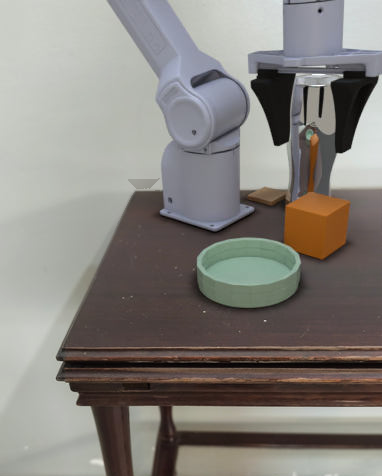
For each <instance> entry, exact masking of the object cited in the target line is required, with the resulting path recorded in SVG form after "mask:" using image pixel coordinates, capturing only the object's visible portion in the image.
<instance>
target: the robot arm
mask: <svg viewBox="0 0 382 476" xmlns="http://www.w3.org/2000/svg"><path fill="white" fill-rule="evenodd" d="M106 2H107V4H108V5H109V6H110V8H111V9H112V11H113V12H114V14H115V16H116V17H117V19H118V20H119V22H120V23H121V24H122V26H123V27H124V29H125V31H126V32H127V33H128V35H129V36H130V38H131V39H132V41H133V43H134V44H135V46H136V48H138V50H139V51H140V53H141V54H142V56H143V57H144V59H145V61H146V63H148V66H150V68H151V70H152V71H153V73H154V74H155V76H156V77H157V79H158V84H157V89H156V93H155V97H154V98H155V99H154V100H155V102H156V104H157V106H158V107H159V109H160V111H161V112H162V115H163V118H164V123H165V126H166V129H167V132H168V134H169V136H170V138H171V139H172V140H171V141H170V142H169V143H168V144H167V145H166V147H165V148H164V150H163V153H162V156H161V162H160V170H161V171H160V172H161V184H162V194H163V195H162V197H163V208H162V209H161V210H159V214H160V215H161V216H164V217H167V218H170V219H173V220H176V221H180V222H183V223H186V224H189V225H192V226H194V227H195V226H196V227H198V228H202V229H205V230H208V231H212V232H218V231H220V230H222V229H223V228H226V227H228V226H230V225H232V224H233V223H235V222H237V221H239V220H241V219H243V218H245V217H247V216H248V215H251V214H252V213H253V212H255V207H254V206H251V205H247V204H244V203H241V127H242V126H243V125H245V123H246V121H247V120H248V118H249V116H250V111H251V99H250V95H249V92H248V90H247V88H246V86H245V85H244V84H243V83H242V82H241V81H240V80H239V79H237V78H236V77H234V76H232V75H231V74H230V73H228V72H227V70H226V69H225V68H224V67H223V65H222V64H221V62H220V61H219V60H218V59H216V58H214V57H213V56H211V55H209V54H207V53H206V52H204V51H202V50H201V49H199V47H198V46H197V44H196V43H195V41H194V40H193V38H192V37H191V35H190V33H189V32H188V30H187V29H186V27H185V26H184V24H183V22H182V21H181V20H180V18H179V16H178V15H177V13H176V12H175V11H174V9H173V7H172V6H171V4H170V3H169V1H168V0H106ZM344 16H345V0H282V49H275V50H256V51H254V52H249V53H247V67H248V70H247V71H248V74H251V75H256V74H257V75H256V76H255V77H256V78H254V79H251V80H250V89H251V90H252V92H253V94H254V95H255V96H256V98H257V101H258V102H259V104H260V107H261V109H262V110H263V113H264V116H265V119H266V122H267V124H268V125H267V126H268V128H269V132H270V135H271V139H272V143H273V146H274V147H281V146H283V145H286V143H287V142H289V138H290V107H291V98H292V91H293V85H294V81H295V76H297V74H300V75H305V74H334V75H340V76H343V78H339V79H337V80H334V81H332V82H331V84H330V87H331V91H332V95H333V101H334V109H335V151H336V153H337V154H344V153H346V152H348V151H350V150H351V149H352V146H353V141H354V137H355V135H356V131H357V127H358V125H359V122H360V119H361V116H362V114H363V112H364V109H365V107H366V105H367V103H368V101H369V99H370V97H371V95H372V93H373V91H374V90H375V89H376V86H377V84H378V82H379V79H380V76H381V75H382V50H377V49H376V50H375V49H373V50H372V49H359V48H348V47H347V48H345V47H344V46H343V45H344V43H343V42H344V18H345V17H344Z"/></svg>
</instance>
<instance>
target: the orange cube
mask: <svg viewBox="0 0 382 476" xmlns="http://www.w3.org/2000/svg"><path fill="white" fill-rule="evenodd" d="M350 207H351V200H347V199H343V198H339V197H334V196H332V197H331V196H326V195H322V194H318V193H314V192H309V193H307V194H306V195H304V196H302V197H300V198H298V199H297V200H295V201H293V202H291V203H290V204H288V205H285V209H284V210H285V211H284V231H283V244H285V245H287V246H290V247H291V248H292V249H293V250H295V251H296V252H297V253H298V254H303V255H306V256H309V257H312V258H315V259H319V260H324V259H325V258H327V257H328V256H330V255H332V254H333V253H334V252H336V251H337V250H339V249H340V248H342V247H343V246H344V245H345V244H346V241H347V234H348V225H349V217H350V210H351V209H350Z"/></svg>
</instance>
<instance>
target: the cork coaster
mask: <svg viewBox="0 0 382 476" xmlns="http://www.w3.org/2000/svg"><path fill="white" fill-rule="evenodd" d="M286 194H287V191H285V190H281V189H276V188H272V187H268V186H263V187H261V188H259V189H256V190H255V191H253V192H251V193H249V194H247V195H246V199H247V200H248V201H252V202H256V203H260V204H263V205H266V206H271V207H273V206H274V205H276V204H278V203H280V202H281V201H283V200H285V198H286Z"/></svg>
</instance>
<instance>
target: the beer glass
mask: <svg viewBox="0 0 382 476" xmlns="http://www.w3.org/2000/svg"><path fill="white" fill-rule="evenodd" d="M339 78H343V75H341V74H299V75H296V76H295V81H294V85H293V91H292V98H291V107H290V138H289V142H287V143H285V146H286V154H287V162H288V177H289V178H288V184H287V189H286V192H287V194H286V198H285V199H284V206H286V205H288V204H290V203H291V202H293V201H295V200H297V199H298V198H300V197H302V196H304V195H306V194H307V193H309V192H314V193H318V194H322V195H326V196H331V197H333V191H332V190H333V189H332V177H333V171H334V167H335V164H336V159H337V156H338V153H336V151H335V109H334V101H333V95H332V91H331V87H330V84H331V82H332V81H334V80H337V79H339Z"/></svg>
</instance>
